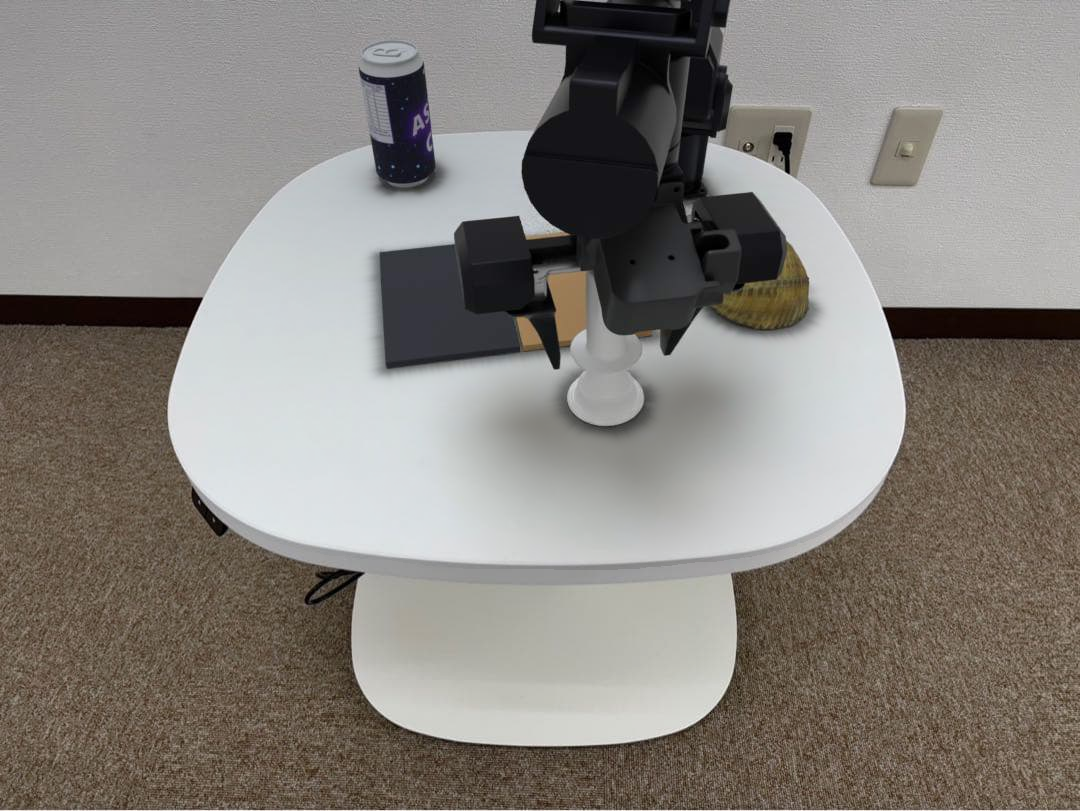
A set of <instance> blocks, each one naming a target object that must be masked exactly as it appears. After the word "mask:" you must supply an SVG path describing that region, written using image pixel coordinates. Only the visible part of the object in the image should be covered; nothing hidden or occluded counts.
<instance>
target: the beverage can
mask: <svg viewBox="0 0 1080 811" xmlns="http://www.w3.org/2000/svg"><path fill="white" fill-rule="evenodd" d="M360 57H361V58H360V62H359V65H358V73H359V79H360V85H361V91H362V97H363V102H364V109H365V114H366V119H367V125H368V126H367V127H368V131H369V137H370V142H371V148H372V155H373V160H374V167H375V172H376V175H377V176H378V177H379V178H380V179H381V180H383V181H385V182H387V184H388V185H390V186H392V187H396V188H400V189H402V188H403V189H408V188H409V189H410V188H415V187H417V186H420V185H422V184H424V183H425V182H426V181H427V180H428V179H429V178H430V177H431V175H432V174H433V173H434V172H435V170H436V168H437V167H436V166H437V165H436V157H435V148H434V138H433V130H432V121H431V114H430V112H431V111H430V102H429V94H428V86H427V77H426V67H425V61H424V60H423V58H422V57H421V56H420V54H419V48H418V46H417V45H416V44H415V43H413V42H411V41H408V40H403V39H382V40H378V41H374V42H371V43H369V44H367V45H365V46H364V47H363V48H362V49H361V51H360Z"/></svg>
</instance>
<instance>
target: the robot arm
mask: <svg viewBox="0 0 1080 811" xmlns="http://www.w3.org/2000/svg"><path fill="white" fill-rule="evenodd" d="M731 1H732V0H606V1H593V0H591V1H590V0H535V6H534V12H533V21H532V29H531V41H532V44H541V45H551V46H562V47H565V63H564V64H565V65H564V72H563V76H562V79H561V81H560V83H559V86H558V87H557V89H556V91H555V93H554V95H553V96H552V98H551V100H550V102H549V103H548V105H547V107H546V109H545V111H544V113H543V115H542V116H541V118H540V120H539V122H538V123H537V125H536V127H535V129H534V131H533V133H532V135H531V136H530V138H529V140H528V142H527V144H526V147H525V151H524V153H523V158H522V160H521V173H520V174H521V179H522V185H523V188H524V191H525V194H526V196H527V199H528V200H529V202H530V203H531V205H532V206H533V208H534V209H535V211H536V212H537V213H538V214H539V215H540V216H541V218H543V219H544V220H545V221H546V222H547V223H548V224H550V225H551V226H553V227H554V228H556V229H557V230H560V231H561V232H562V233H563V232H565V233H568V234H569V235H566V236H556V237H547V238H537V239H528V240H526V234H525V231H524V226H523V223H522V219H521V217H520V215H513V216H512V215H511V216H504V217H503V216H502V217H494V218H493V217H492V218H483V219H472V220H463V221H461V223H460V224H459V226H458V227H457V228H456V229H455V231H454V232H453V241H454V244H455V252H456V261H457V266H458V272H459V278H460V284H461V289H462V295H463V301H464V306H465V310H467V311H469V312H472V313H474V314H485V313H493V312H502V311H504V313H505V314H506V315H507V316H509V317H512V318H514V319H515V318H518V317H524V318H527V319H528V320H529V321H530V323H531V324H532V325H533V327H534V328H535V330H536V331H537V333H538V335H539V337H540V339H541V342H542V344H543V346H544V349H543V350H544V351H545V353H546V356H547V358H548V360H549V362H550V364H551V366H552V369H553V370H554V371H555V370H556V371H557V370H560V369H561V356H562V355H561V347H559V340H558V333H557V326H556V319H555V313H556V307H555V304H554V301H553V298H552V294H551V291H550V288H549V285H548V276H549V275H553V274H562V273H571V272H580V271H589V270H593V275H594V280H595V284H596V288H597V292H598V297H599V301H600V305H601V310H602V318H603V322H604V325H605V326H606V328H607V329H608V330H609V331H610V332H612V333H614V334H617V335H622V336H624V335H633V334H635V333H637V332H643V331H651V330H652V331H658V330H659V348H660V351H661V353H662V354H663V356H664V357H668V356H671V355H672V353H673V352H674V350H675V349H676V347H677V346H678V345H679V343H680V341H681V340H682V338H683V337H684V336H685V334H686V332H687V330H688V329H689V327H690V326H691V325H692V323H693V322H694V320H695V319H696V317H697V316H698V315H699V314H700V312H701V311H702V309H703V308H706V307H707V308H708V307H711V306H715V305H722V303H723V294H730V293H731V292H737V291H740V290H741V289H742V288H743V287H744V285H745V283H752V282H761V281H770V280H777V278H778V277H779V276H780V275H781V274H782V270H783V266H784V262H785V258H786V254H787V243H786V240H787V235H786V234H785V232H784V231H783V229H781V227H780V226H779V225H778V223H777V222H776V220H775V219H774V218H773V216H772V214H771V213H770V212H769V210H768V209H767V207H766V206H765V205H764V203H763V202H762V201H761V200H760V199H759V197H758V196H757V195H756V194H755V193H754V192H753V191H747V192H738V193H737V192H736V193H727V194H717V195H708V193H709V192H708V188H707V187H706V186H705V184H704V182H703V178H704V171H705V165H706V164H705V163H706V158H707V150H708V144H709V138H712V139H717V135H718V133H720V132H722V131H724V130H727V124H728V119H729V112H730V107H731V100H732V94H733V88H734V85H733V83H732V82H731V81H730V79H729V76H730V75H729V73H728V65H724V64H723V65H722V64H721V59H722V50H723V44H724V33H723V31H722V30H721V29H726V27H727V24H728V18H729V11H730V6H731ZM727 73H728V74H727ZM693 199H695V200H694V201H693V202H692V205H691V212H690V214H687V212H686V208H685V204H684V200H693Z"/></svg>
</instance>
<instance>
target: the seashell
mask: <svg viewBox="0 0 1080 811" xmlns="http://www.w3.org/2000/svg"><path fill="white" fill-rule="evenodd" d="M786 243H787V254H786V258H785V262H784V266H783V270H782V274H781V275H780V276H779V277H778V278H777V280H770V281H761V282H752V283H745V285H744V287H743V288H742V289H741V290H740V291H737V292H731V293H730V294H723V303H722V305H715V306H710V307H711V308H712V309H713V310H714V311H715V312H717V313H718V314H719V315H721V317H722V318H724V319H728V320H730V321H731V322H733V323H736V324H740V325H742V326H745V327H749V328H751V329H753V330H755V329H756V330H767V331H770V330H778V329H781V328H782V329H783V328H785V327H792V326H793V325H796V324H798V323H799V322H800V321H801V320H802V319H804V318H805V316H806V314H808V310H810V309H809V308H810V307H809V305H810V299H809V296H810V277H809V276H808V273H807V270H806V267H805V266H804V264H803V262H802V261H801V257H800V256H799V255H798V253H797V252H796V250H795V248H794V247H793V246H792V243H790V242H788V240H787V239H786Z"/></svg>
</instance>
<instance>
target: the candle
mask: <svg viewBox="0 0 1080 811" xmlns="http://www.w3.org/2000/svg"><path fill="white" fill-rule="evenodd" d="M569 351H570V356H571V358H572V360H573V361H574V363H575V364H576V365H577V366H578V367H580V368H581V369H582V370H583V372H581V374H580V375H579V377H577V378H576V379H574V380H573V382H572V383H571V385H570V386H569V388H568V390H567V394H566V401H567V404H568V407H569V409H570V411H571V412H572V414H573V415H575V416H576V417H577V418H578V419H579V420H581V421H583V422H585V423H587V424H591V425H594V426H600V427H613V426H617V425H622V424H624V423H626V422H629V421H630V420H632V419H633V418H635V417H636V416H637V415H638V414H639V412H640V411H641V409H642V407H643V406H644V402H645V394H644V390H643V388H642V386H641V384H640V383H639V382H638V381H637V379H635V378H634V377H633V376H632V375H631V373H630V372H629V371H628V370H630V369H631V368H633V367H634V366H635V365H636V364H637V363H638V362H639V360H640V359H641V358H642V353H643V346H642V342H641V340H640V339H639V337H637V336H636V335H635V334H633V335H624V336H622V335H617V334H614V333H612V332H610V331H609V330H608V329H607V328H606V326H605V325H604V322H603V318H602V310H601V305H600V301H599V297H598V292H597V288H596V284H595V280H594V275H593V270H589V271H586V329H585V330H583V331H582V332H580V333H579V334H578V335H577V336H576V337H575V338H574V339H573V341H572V343H571V345H570V347H569Z"/></svg>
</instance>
